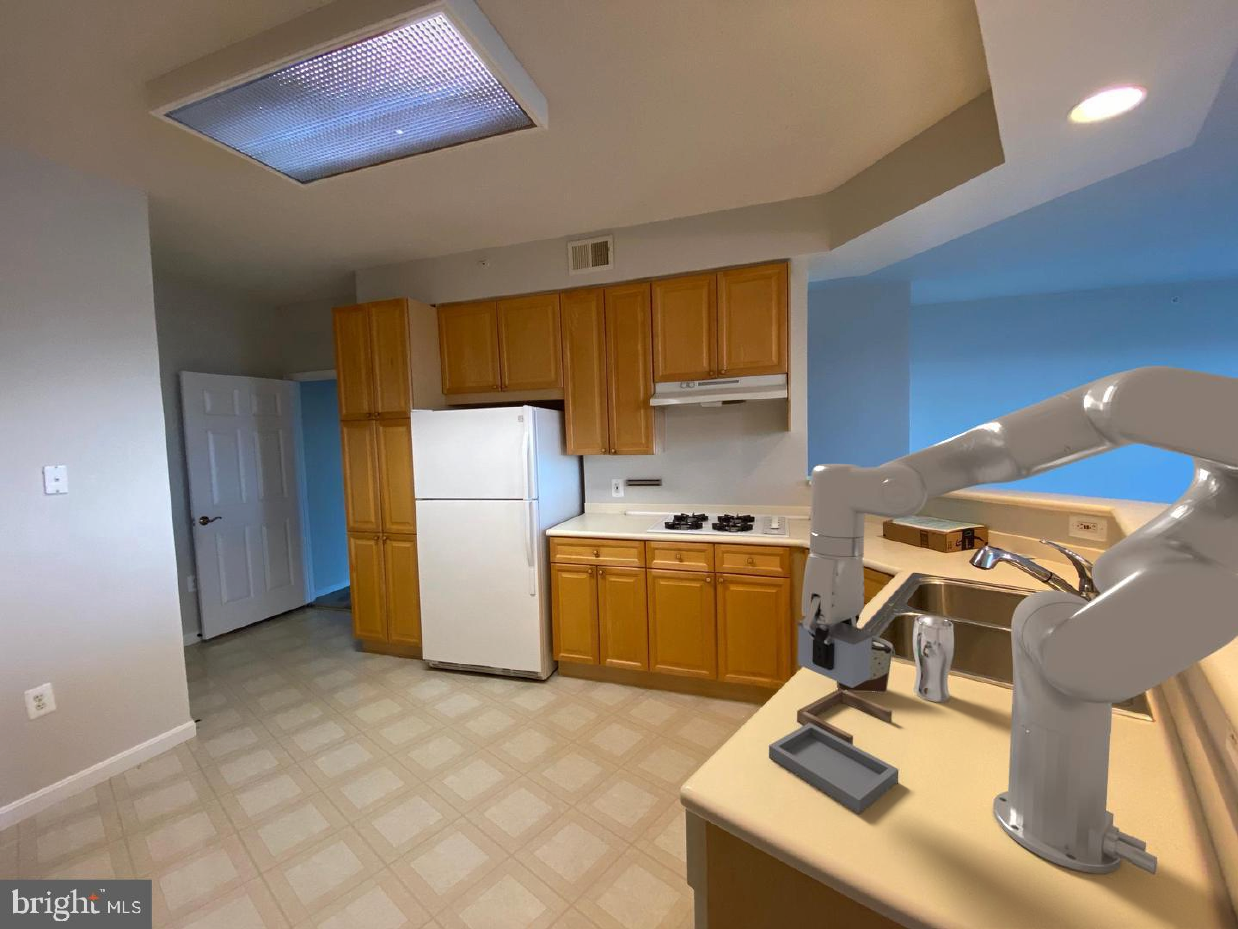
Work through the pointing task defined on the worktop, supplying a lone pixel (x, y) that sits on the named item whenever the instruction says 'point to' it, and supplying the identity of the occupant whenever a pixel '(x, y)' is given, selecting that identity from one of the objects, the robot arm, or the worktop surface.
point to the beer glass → (932, 657)
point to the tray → (834, 766)
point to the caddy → (840, 653)
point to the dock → (834, 698)
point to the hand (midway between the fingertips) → (833, 660)
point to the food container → (876, 668)
